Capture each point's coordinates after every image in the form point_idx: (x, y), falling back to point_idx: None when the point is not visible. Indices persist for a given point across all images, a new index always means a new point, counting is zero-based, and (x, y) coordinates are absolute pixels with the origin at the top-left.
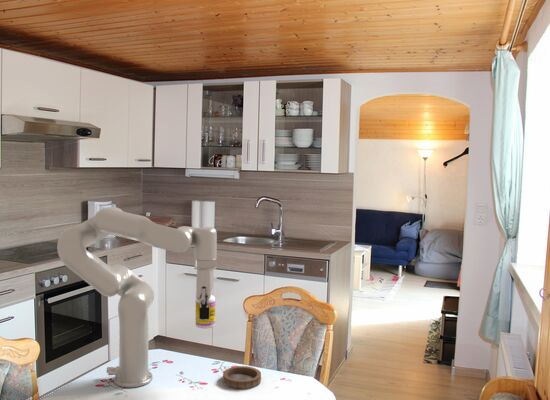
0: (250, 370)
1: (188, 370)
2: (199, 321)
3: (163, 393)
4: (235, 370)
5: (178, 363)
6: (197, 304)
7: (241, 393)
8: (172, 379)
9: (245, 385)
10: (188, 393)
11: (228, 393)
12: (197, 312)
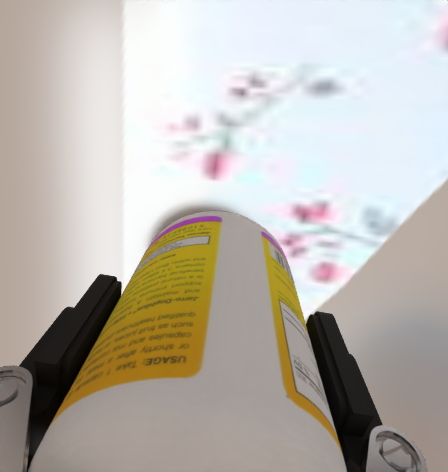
0: None
1: (336, 117)
2: (144, 256)
3: (140, 6)
4: None
5: (423, 76)
6: (105, 364)
7: (135, 262)
8: (264, 46)
9: None
10: (138, 108)
11: (136, 230)
12: (139, 287)
